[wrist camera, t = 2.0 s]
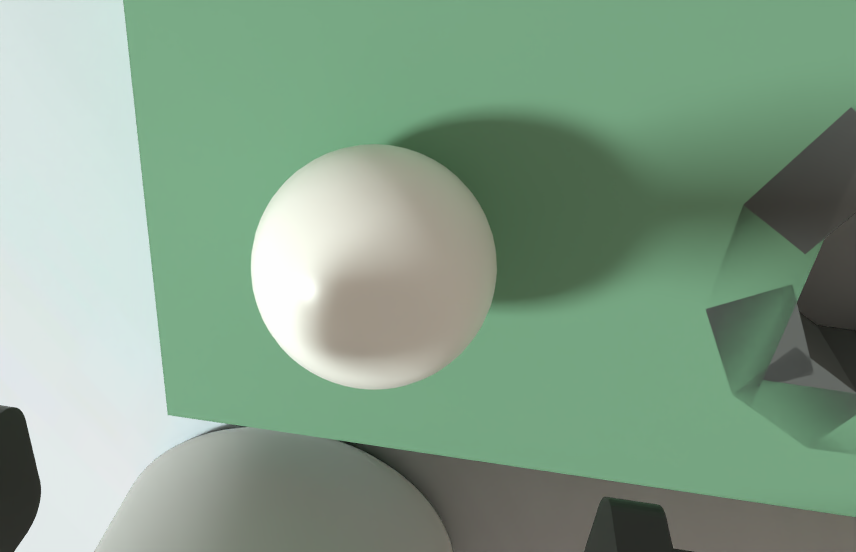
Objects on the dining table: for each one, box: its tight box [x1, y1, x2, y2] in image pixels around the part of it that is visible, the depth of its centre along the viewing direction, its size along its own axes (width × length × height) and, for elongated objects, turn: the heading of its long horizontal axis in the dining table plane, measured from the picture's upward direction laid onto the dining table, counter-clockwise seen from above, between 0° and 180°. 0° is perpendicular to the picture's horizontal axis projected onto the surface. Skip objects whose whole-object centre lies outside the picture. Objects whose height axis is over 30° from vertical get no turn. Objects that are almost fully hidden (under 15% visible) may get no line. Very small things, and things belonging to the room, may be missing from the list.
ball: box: [251, 144, 497, 390], centre depth 15 cm, size 5×5×5 cm
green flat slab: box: [123, 0, 856, 517], centre depth 19 cm, size 15×25×3 cm, turn 84°
